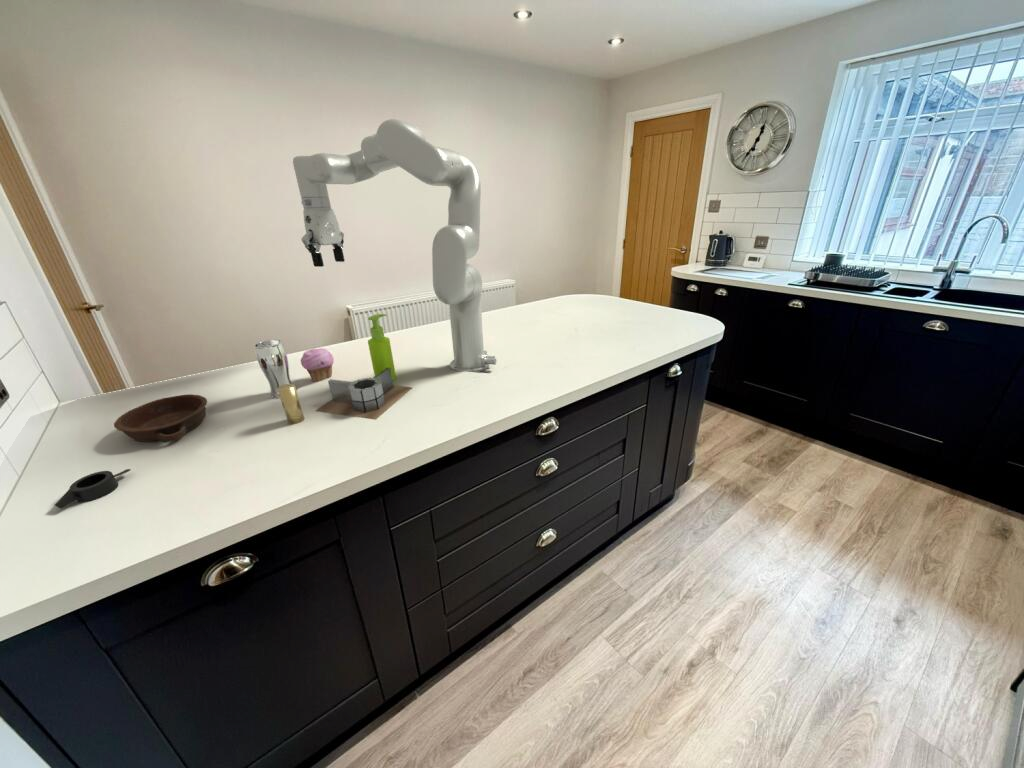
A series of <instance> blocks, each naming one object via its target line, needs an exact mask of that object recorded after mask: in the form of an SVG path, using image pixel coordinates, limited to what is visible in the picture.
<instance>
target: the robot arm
mask: <svg viewBox="0 0 1024 768" xmlns="http://www.w3.org/2000/svg"><path fill="white" fill-rule="evenodd" d="M292 164H293V165H292V166H293V169H294V170H293V171H294V172H295V177H296V183H297V186H298V189H299V190H298V191H299V195H300V199H301V205H302V207H303V212H302V213H303V222H304V223H303V224H304V228H305V229H304V230H305V232H306V233H305V234H304V235H303V236H302V237H301V239H300V240H301V242H302V243H303V245H304V247H305V248H306V250H308V253H309V254H311V259H312V263H313V266H314V267H318V268H319V267H321V268H322V267H325V265H324V264H325V263H324V260H323V255H322V253H321V252H320V249H321V246H329V245H331V246H332V252H333V258H334V261H335V262H336V263H337V262H338V263H339V262H340V263H343V262H345V255H344V252H343V251H344V250H343V249H344V243H345V241H344V238H345V234H344V233H343V231H341V230H340V225H339V222H338V219H337V216H336V214H335V211H334V209H333V208H332V206H331V201H330V197H329V196H330V195H329V191H328V185H354V184H358V183H362V182H363V181H367V180H370V179H372V178H374V177H376V176H378V175H380V173H383V172H386V171H389V170H391V169H396V168H398V167H399V168H401V169H402V170H403V171H405V172H407V173H408V174H410V175H412V176H413V177H414V178H416V179H418V180H419V182H420V181H421V182H422V183H424V184H426V185H429V186H433V187H434V186H435V187H448V188H449V189H450V195H449V199H448V203H447V204H448V206H447V207H448V208H447V210H448V211H447V212H448V216H447V217H448V221H447V225H445V226H443V227H441V228H439V229H438V231H436V233H435V235H434V238H433V241H432V249H431V251H432V252H431V256H432V259H431V260H432V264H431V265H432V286H433V288H432V289H433V291H434V294H435V295H436V298H437V299H438V300H439V301H440V302H441V303H443V304H444V305H449V318H450V319H449V320H450V321H449V322H450V331H451V332H450V333H451V340H452V350H453V351H452V352H453V359H452V360H451V362H450V363H449V368H450V370H452V371H458V372H466V373H467V372H468V373H479V372H482V371H485V370H487V369H489V367H490V365H494V366H495V365H496V364H497V362H498V361H497V358H496V356H495V355H488V350H484V349H485V348H484V334H483V317H482V312H483V311H482V294H483V292H482V291H483V280H482V275H481V274H480V271H479V270H478V269H477V267H475V266H474V265H472V264H470V263H468V260H469V259H472V258H473V257H475V256H476V255H477V253H478V252H479V248H480V236H481V235H480V230H481V229H480V228H481V227H480V225H481V192H482V191H481V181H480V180H481V179H480V175H479V172H478V170H477V169H476V167H475V165H474V164H473V162H472V161H471V160H470V159H469V158H467V157H466V156H464V155H463V154H462V153H460V152H459V151H455V150H453V149H449V148H445V147H439V146H435V145H433V144H432V143H430V142H429V141H427V140H426V137H425V134H424V133H423V131H422V130H421V129H420V128H419V127H417V126H416V125H415V124H412V123H409V122H406V121H403V120H400V119H395V118H391V119H390V118H389V119H387V120H383V122H382V123H381V124H379V125H378V128H377V129H376V133H374V134H372V135H369V136H368V135H367V136H365V137H364V138H363V139H362V140H361V143H360V150H358V151H355V152H352V153H349V154H345V155H341V154H334V153H333V154H332V153H325V152H320V153H318V152H317V153H315V154H312V155H297V156H295V157H293V158H292Z"/></svg>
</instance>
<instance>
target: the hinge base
mask: <svg viewBox="0 0 1024 768" xmlns="http://www.w3.org/2000/svg"><path fill="white" fill-rule="evenodd" d="M393 386H394V388H392V389H391V390H390V391H388V392H387V393H386V394H385V395H384V399H385V405H384V406H382V407H381V408H380V409H378V410H375V411H371V412H365V413H363V412H356V411H355V410H354V407H353V404H350V403H342V402H334V401H333V399H330V400H329V401H327V402H326V403H324V404H323V405H320V407H318V408H317V409H315V410H314V412H320V413H325V414H326V413H327V414H334V415H341V416H348V417H356V418H361V419H368V420H375V421H376V420H377V419H379V418H380V417H381V416H382V415H383V414H384V413H386V412H387V411H388V410H389V409H390V408H391V407H392V406H394V405H395V404H396V403H397V402H398V401H400V400H401V398H403V397H404V396H405V395H406V394H408V393H410V391H411V390H413V389H414V387H413V386H404V385H395V384H393Z"/></svg>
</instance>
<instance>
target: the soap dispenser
mask: <svg viewBox="0 0 1024 768" xmlns="http://www.w3.org/2000/svg"><path fill="white" fill-rule="evenodd" d="M384 317H387V314H385V313H377V314H373V315H372V316H369V317H367V318H368V321H371V324H372V326H371V327H370V328H369V330H370V335H371V336H370V337H371V338H369V339H368V341H367V344H368V350H369V354H370V359H371V364H372V369H373V375H374V376H376V375H377V374H378V373H380V372H381V371H383V370H384V369H386V368H390V369H391V375H392V380H393V381H395V380H396V379H397V376H396V369H395V364H394V363H395V362H394V357H393V352H392V345H391V339H390V338H389V337H388V336H385V333H384V328H383V326H382V325H381V326H380V323H379V319H381V318H384Z"/></svg>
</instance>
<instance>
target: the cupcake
mask: <svg viewBox="0 0 1024 768" xmlns="http://www.w3.org/2000/svg"><path fill="white" fill-rule="evenodd" d="M300 365H301V367H302V368H303V369H305V370H306V371H307V373H308V374H309V377H310V379H311V380H312V381H314V382H315V383H317V382H322V381H325V380H326V379H327V380H328V379H330V378H331V377H332V375H333V365H334V356H333V353H331V352H330V351H329V350H328V349H327V348H324V347H323V348H312V349H309V350H306V351H304V352H303V354H302V357H301V359H300Z"/></svg>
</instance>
